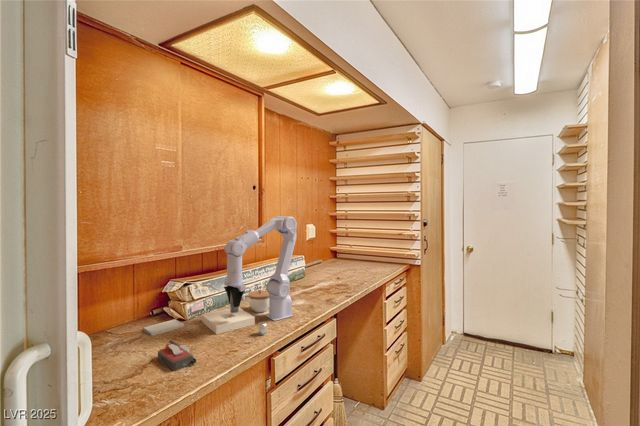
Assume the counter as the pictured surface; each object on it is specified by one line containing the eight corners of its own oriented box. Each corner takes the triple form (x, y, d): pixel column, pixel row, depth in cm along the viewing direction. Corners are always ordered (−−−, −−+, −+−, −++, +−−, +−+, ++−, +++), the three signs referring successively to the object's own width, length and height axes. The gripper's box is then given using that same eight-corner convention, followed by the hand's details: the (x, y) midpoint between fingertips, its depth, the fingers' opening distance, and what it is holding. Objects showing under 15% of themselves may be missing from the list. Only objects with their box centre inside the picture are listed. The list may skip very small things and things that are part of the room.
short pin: (264, 331, 124) (264, 321, 123) (268, 334, 121) (268, 323, 121) (256, 333, 121) (256, 323, 121) (260, 336, 119) (260, 325, 119)
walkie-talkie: (202, 363, 100) (173, 343, 113) (203, 349, 99) (173, 331, 112) (174, 374, 93) (146, 352, 106) (174, 359, 93) (146, 339, 106)
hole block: (237, 313, 143) (237, 306, 143) (254, 324, 130) (254, 317, 130) (201, 321, 133) (201, 314, 132) (216, 334, 120) (216, 326, 120)
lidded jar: (243, 312, 144) (243, 291, 144) (255, 305, 154) (255, 286, 154) (265, 315, 141) (265, 294, 140) (275, 307, 151) (275, 288, 151)
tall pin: (236, 309, 127) (236, 289, 127) (240, 311, 125) (240, 291, 125) (228, 311, 125) (228, 291, 125) (232, 313, 123) (232, 293, 123)
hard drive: (151, 333, 118) (184, 323, 127) (142, 327, 123) (174, 318, 133) (151, 337, 118) (184, 327, 127) (142, 331, 123) (174, 322, 133)
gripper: (217, 269, 128) (217, 302, 128) (233, 275, 116) (232, 312, 117) (233, 266, 132) (233, 299, 133) (250, 273, 121) (250, 308, 122)
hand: (234, 305), depth 125 cm, fingers closed on tall pin, 3 cm apart
